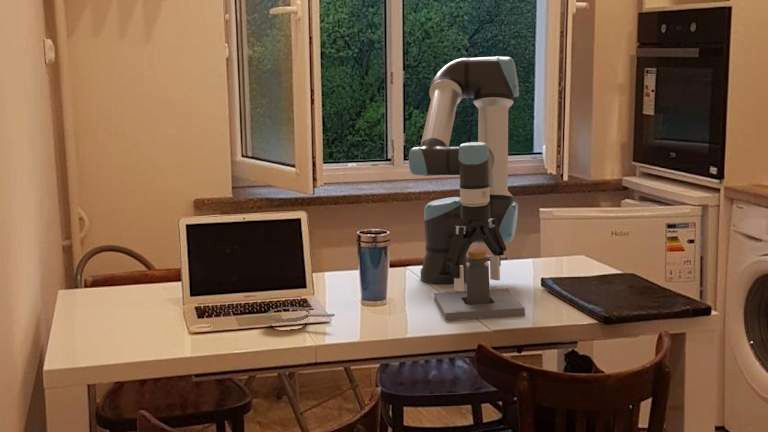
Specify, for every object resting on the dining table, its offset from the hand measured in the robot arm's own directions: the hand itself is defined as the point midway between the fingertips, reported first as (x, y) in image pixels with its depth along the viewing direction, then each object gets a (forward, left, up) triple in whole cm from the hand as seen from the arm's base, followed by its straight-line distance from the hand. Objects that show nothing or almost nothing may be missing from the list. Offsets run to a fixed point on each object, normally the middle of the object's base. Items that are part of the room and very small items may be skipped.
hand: (477, 285), depth 256 cm
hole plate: (0, 0, -6) cm, 6 cm away
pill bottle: (-11, +12, -6) cm, 17 cm away
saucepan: (-22, -40, -6) cm, 46 cm away
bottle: (0, 0, -6) cm, 6 cm away
